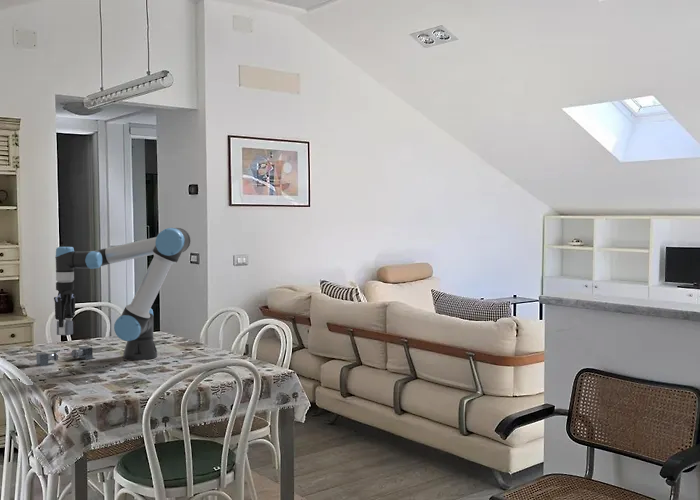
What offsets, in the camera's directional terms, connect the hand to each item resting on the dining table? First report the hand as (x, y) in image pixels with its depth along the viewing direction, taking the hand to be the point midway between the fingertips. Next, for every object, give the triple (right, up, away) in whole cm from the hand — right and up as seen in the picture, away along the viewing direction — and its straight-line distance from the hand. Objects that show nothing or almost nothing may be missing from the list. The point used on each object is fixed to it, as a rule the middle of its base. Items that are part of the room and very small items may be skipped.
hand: (65, 333), depth 321 cm
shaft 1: (-6, -13, -5) cm, 15 cm away
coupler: (0, 0, 0) cm, 0 cm away
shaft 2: (+5, -12, +6) cm, 15 cm away
